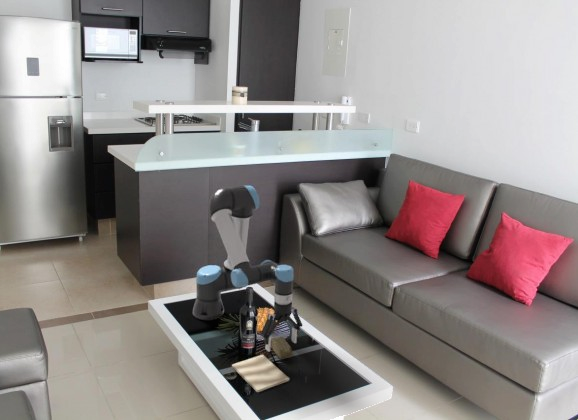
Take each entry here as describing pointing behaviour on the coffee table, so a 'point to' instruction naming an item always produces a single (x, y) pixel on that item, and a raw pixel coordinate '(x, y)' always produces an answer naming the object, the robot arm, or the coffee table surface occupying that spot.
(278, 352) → the stone block
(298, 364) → the coffee table surface
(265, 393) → the coffee table surface
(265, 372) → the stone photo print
